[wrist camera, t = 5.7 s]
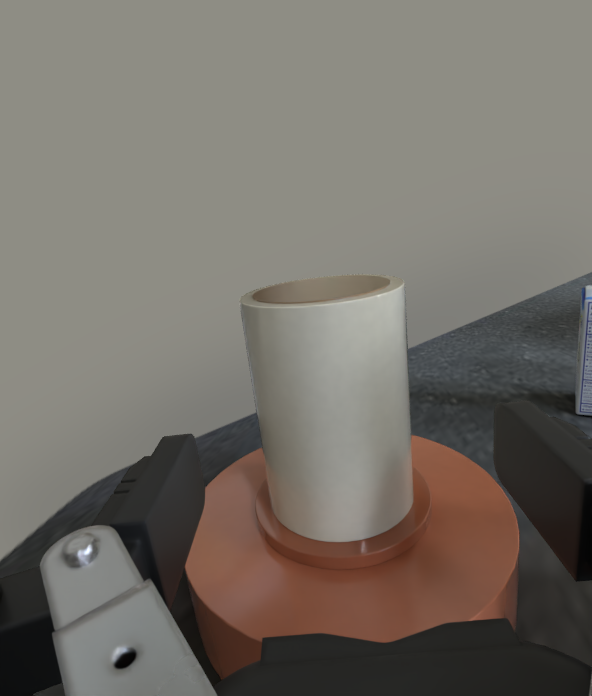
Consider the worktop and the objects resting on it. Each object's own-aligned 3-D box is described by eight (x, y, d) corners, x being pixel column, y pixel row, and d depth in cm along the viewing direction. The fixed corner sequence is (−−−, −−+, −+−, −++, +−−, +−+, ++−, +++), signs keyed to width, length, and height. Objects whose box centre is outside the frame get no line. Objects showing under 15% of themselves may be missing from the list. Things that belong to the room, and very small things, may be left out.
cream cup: (265, 550, 16) (226, 313, 14) (274, 460, 22) (248, 284, 20) (432, 534, 16) (425, 291, 13) (396, 448, 22) (386, 268, 19)
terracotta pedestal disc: (153, 758, 14) (123, 660, 13) (224, 492, 27) (213, 432, 26) (601, 725, 13) (614, 619, 12) (450, 470, 27) (449, 407, 26)
